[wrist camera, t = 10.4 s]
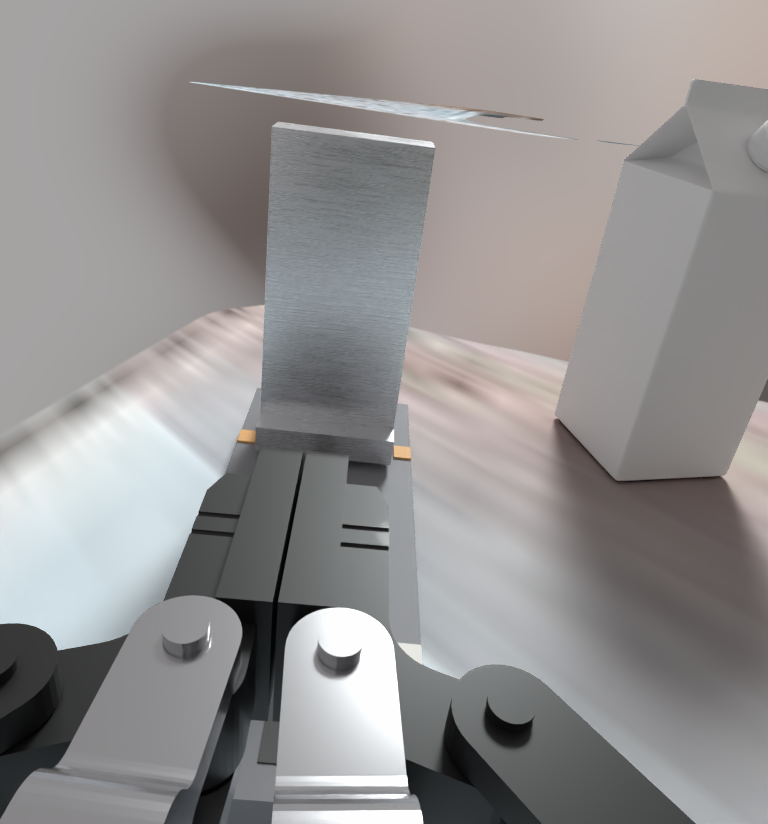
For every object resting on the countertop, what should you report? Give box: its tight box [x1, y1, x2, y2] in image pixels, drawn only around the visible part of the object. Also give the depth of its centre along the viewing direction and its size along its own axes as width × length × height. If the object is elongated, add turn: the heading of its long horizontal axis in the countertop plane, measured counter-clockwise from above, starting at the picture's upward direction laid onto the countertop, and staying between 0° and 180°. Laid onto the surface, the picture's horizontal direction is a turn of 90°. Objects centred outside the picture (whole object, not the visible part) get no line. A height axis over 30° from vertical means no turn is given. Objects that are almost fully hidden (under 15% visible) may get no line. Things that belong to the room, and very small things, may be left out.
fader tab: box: [255, 122, 435, 465], centre depth 29 cm, size 4×6×13 cm, turn 90°
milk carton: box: [555, 79, 768, 481], centre depth 35 cm, size 7×7×19 cm
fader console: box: [225, 388, 422, 824], centre depth 27 cm, size 22×8×2 cm, turn 0°
